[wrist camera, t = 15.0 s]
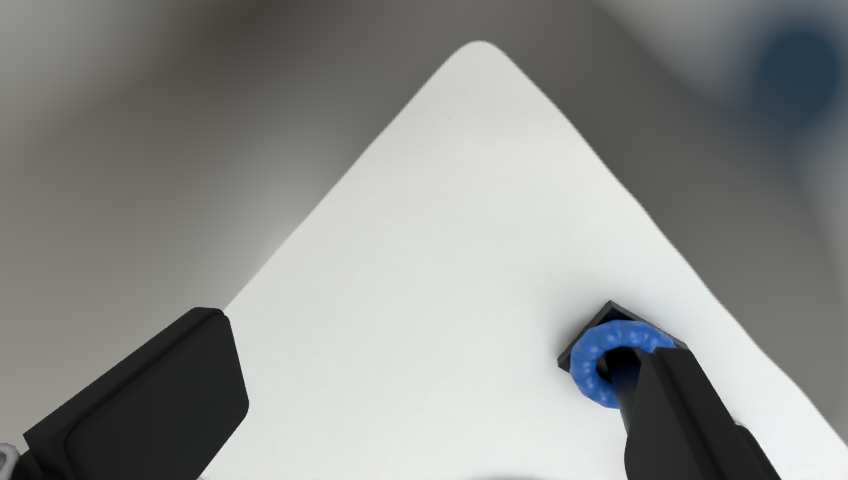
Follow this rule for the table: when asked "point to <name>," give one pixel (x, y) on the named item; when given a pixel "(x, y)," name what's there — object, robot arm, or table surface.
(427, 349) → the table surface
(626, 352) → the peg stand
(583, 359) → the ring
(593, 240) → the table surface
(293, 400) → the table surface
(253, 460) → the table surface
